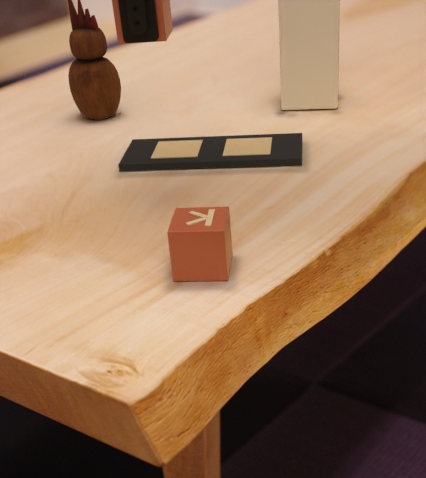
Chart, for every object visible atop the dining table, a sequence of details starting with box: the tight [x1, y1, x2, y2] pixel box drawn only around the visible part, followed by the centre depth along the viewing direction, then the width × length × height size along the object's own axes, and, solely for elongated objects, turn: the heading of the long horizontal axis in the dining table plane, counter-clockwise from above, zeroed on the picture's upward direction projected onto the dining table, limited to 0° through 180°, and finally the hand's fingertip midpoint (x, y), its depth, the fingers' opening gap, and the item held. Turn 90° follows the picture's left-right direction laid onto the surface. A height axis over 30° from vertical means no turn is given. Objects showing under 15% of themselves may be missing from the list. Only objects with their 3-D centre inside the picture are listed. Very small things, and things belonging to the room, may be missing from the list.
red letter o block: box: [111, 0, 174, 45], centre depth 68 cm, size 4×4×5 cm
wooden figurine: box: [67, 0, 122, 120], centre depth 95 cm, size 7×6×15 cm
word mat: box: [118, 132, 303, 172], centre depth 84 cm, size 20×8×1 cm, turn 84°
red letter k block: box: [166, 206, 233, 282], centre depth 61 cm, size 4×4×5 cm
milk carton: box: [277, 0, 341, 111], centre depth 92 cm, size 7×7×19 cm
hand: (146, 32), depth 69 cm, fingers closed on red letter o block, 4 cm apart
